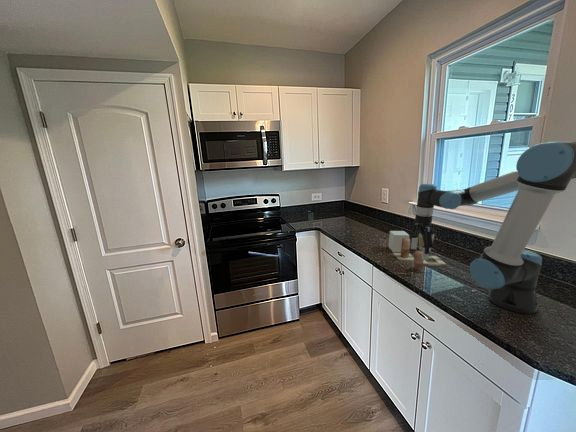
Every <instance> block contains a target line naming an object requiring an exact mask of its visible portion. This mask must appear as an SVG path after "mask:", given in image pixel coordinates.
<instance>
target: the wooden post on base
mask: <svg viewBox="0 0 576 432" xmlns="http://www.w3.org/2000/svg"><path fill="white" fill-rule="evenodd" d="M410 245H411V238H410V237H409V238H402V245H401V252H392V254H393V255H394V257H395V258H397V259H398V261H414V256H413V255H412V254H411V253H410V249H411V246H410Z"/></svg>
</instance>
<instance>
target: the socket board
mask: <svg viewBox="0 0 576 432" xmlns="http://www.w3.org/2000/svg"><path fill="white" fill-rule="evenodd" d="M428 260H433V261H428ZM428 260H424V261H423V267H424V266H427V267H428V266H429V267H447V263H446V262H444V261H443V260H442V259H440V257H438V256H437V255H429V256H428Z"/></svg>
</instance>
